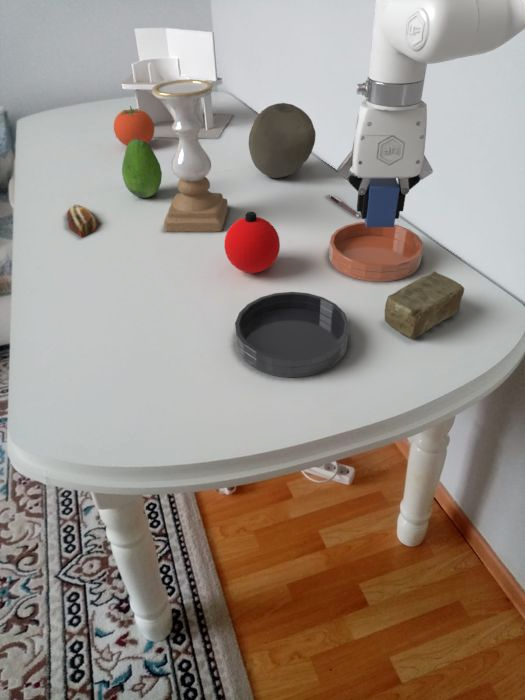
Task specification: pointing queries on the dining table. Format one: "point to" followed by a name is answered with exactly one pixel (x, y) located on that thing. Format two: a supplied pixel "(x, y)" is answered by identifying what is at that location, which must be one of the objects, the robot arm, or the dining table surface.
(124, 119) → the tomato
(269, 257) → the ornament
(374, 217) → the blue block
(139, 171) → the fruit
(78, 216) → the decorative stone
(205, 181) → the candle holder
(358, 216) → the pen
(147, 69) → the architectural model
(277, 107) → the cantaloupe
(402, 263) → the terracotta bowl
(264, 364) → the charcoal bowl
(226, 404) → the dining table surface
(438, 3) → the robot arm
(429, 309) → the stone block
